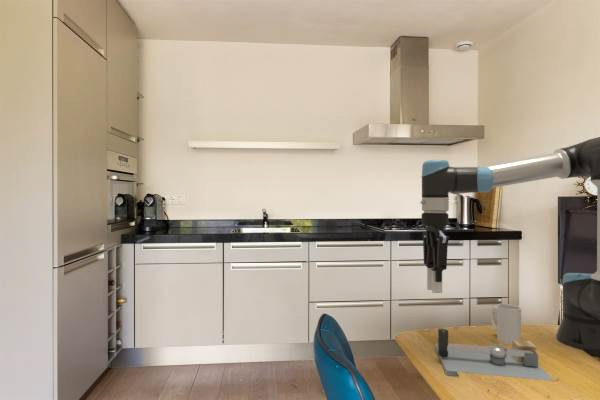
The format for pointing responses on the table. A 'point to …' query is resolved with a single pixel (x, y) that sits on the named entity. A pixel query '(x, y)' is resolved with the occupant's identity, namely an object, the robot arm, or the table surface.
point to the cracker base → (489, 365)
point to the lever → (484, 350)
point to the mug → (507, 322)
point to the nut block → (522, 347)
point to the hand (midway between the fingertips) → (434, 290)
